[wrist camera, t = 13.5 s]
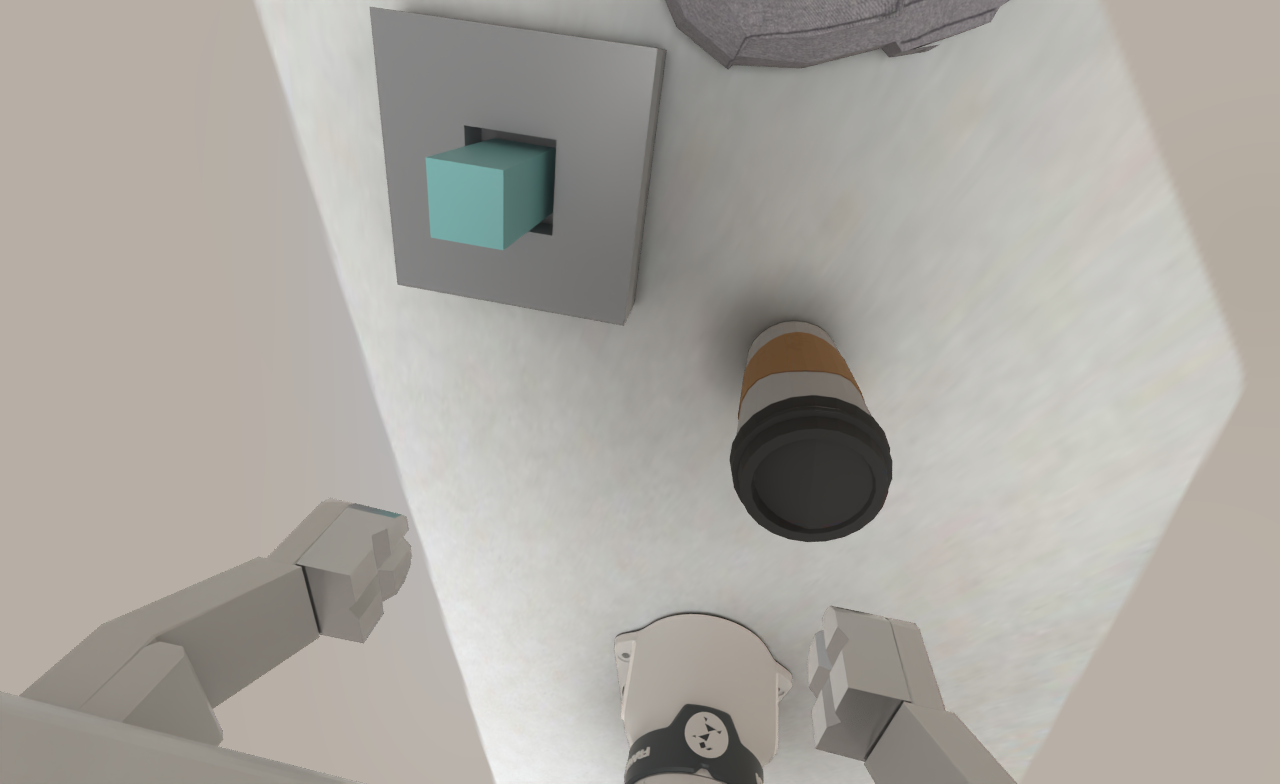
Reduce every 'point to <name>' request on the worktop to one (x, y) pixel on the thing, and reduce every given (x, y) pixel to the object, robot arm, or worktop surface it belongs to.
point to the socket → (529, 113)
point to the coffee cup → (806, 439)
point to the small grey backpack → (822, 27)
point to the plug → (490, 191)
